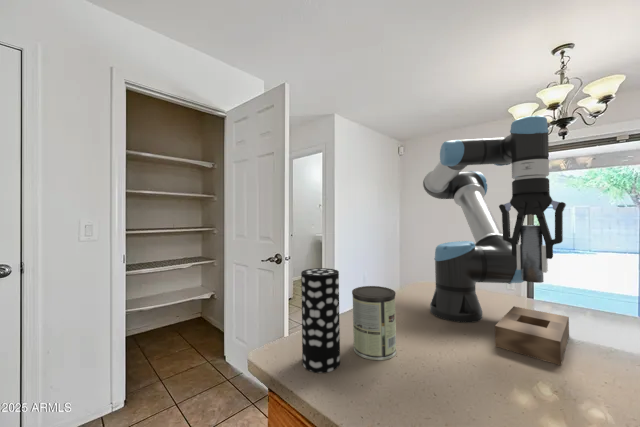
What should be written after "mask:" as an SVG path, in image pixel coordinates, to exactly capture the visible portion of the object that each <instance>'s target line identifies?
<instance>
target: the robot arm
mask: <svg viewBox="0 0 640 427" xmlns="http://www.w3.org/2000/svg"><path fill="white" fill-rule="evenodd" d="M548 127H549V126H548V119H547V117H546V116H544V115H537V114H536V115H529V116H523V117H520V118H517V119H515V120H514V121H511V124H510V130H509V133H510V134H509V135H507V136H504V137H492V138H491V137H490V138H474V139H473V138H471V139H470V138H469V139H453V140H447V141H444V142H443V143H441V147H440V149H439V150H440V151H439V161H438V163H437V164H436V166H435V167H434V169H433V170H431V171H429V172H428V173H427V174H425V176H424V178H423V181H422V187H423V190H424V191H425V192H426V194H427V195H430V196H431V197H433V198H435V199H438V200H453V201H454V203H455V204H456V205H457V206H459V207H460V208H461V210H462V213H463V214H464V217H465V220H466V222H467V225H468V227H469V229H470V232H471V234H472V236H473V239H474V241H472V240H464V241H463V240H462V241H460V240H458V241H457V240H456V241H449V242H444V243H440V244H438V245H436V247H435V249H434V268H435V271H434V272H435V289H434V291H433V292H434V293H433V295H432V298H431V302H430V305H429V306H430V307H429V309H430V314H432V315H434V316H435V317H437V318H440V319H442V320H446V321H449V322H450V321H451V322H457V323H477V322H480V321H481V320H482V319H483V318H484V317H483V309H482V306H481V303H480V301H479V298H478V296H477V295H478V294H477V290H476V283H483V284H484V283H488V284H490V283H491V284H507V285H511V284H522V283H524V282H525V281H523V280H522V278H521V243H520V239H521V234H520V229H521V225H524V223H525V219H526V216H529V215H533V216H536V219H537V221H538V224H539V225H540V228H541V231H542V238H543V242H544V244H543V245H542V272H543V274H544V273H548V272H549V270H548V260H552V259H553V257H554V246H555V245H559V244H561V243H562V242H563V240H564V238H563V237H564V236H563V235H564V231H563V224H564V222H563V220H564V219H563V215H564V214H563V212H564V211H565V208H566V206H567V204H566V203H565V202H563V201H561V202H560V201H556V200H553V197H552V196H551V195H550V179H549V178H548V177H549V176H550V159H549V146H550V145H549V132H550V130H549V128H548ZM480 165H483V166H484V165H494V166H500V167H501V166H502V167H503V166H508V165H511V179H513V181H511V190H512V191H511V199H510V200H509V202H507V203H503V204H502V203H501V204H499V205H498V207H499V210H500V212H501V222H502V223H501V224H502V230H501V228H500V226H499V224H498V222H497V220H496V218H495V217H494V215H493V213H492V211H491V210H490V207H489V205H488V204H487V202H486V200H485V196H486V195H487V193H488V183H487V179H486V176H485V175H484V174H483V173H482V172H481V171H473V170H469V171H463V170H464V169H465V168H466V167H467V166H480ZM550 206H552V210H554V211H555V212H554V238H553V237H552V235H551V232H550V228H549V226H548V222H547V219H546V215H545V212H546V210H547V209H548V208H549V207H550ZM511 207H512V208H514V210H515V211H516V212H517V215H516V220H515V225H514V228H513V233H512V235H511V220H510V219H511V217H510V211H511Z"/></svg>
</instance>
